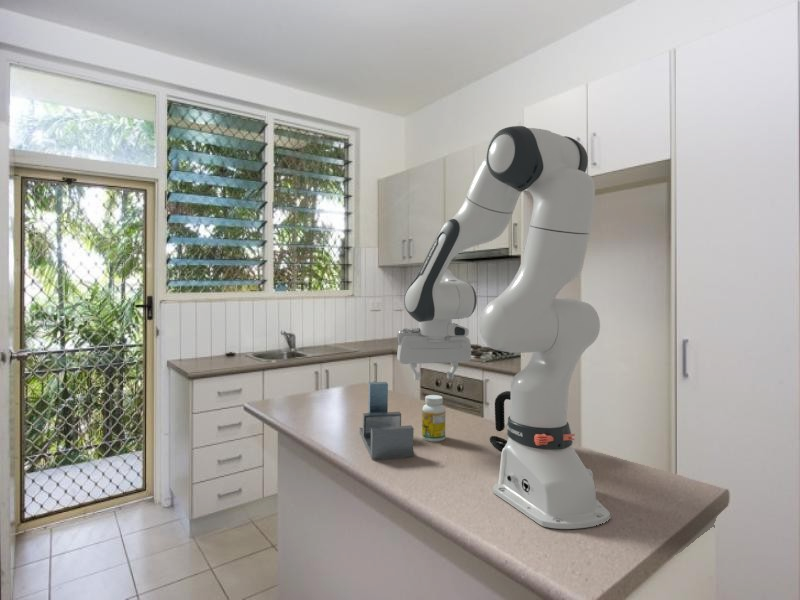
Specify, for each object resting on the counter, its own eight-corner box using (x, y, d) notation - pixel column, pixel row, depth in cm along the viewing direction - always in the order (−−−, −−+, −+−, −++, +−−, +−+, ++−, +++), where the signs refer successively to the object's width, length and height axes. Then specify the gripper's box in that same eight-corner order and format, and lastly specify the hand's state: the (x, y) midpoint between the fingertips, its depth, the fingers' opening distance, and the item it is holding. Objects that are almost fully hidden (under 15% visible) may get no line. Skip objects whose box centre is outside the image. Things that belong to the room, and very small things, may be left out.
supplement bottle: (448, 441, 120) (449, 399, 119) (426, 443, 118) (427, 400, 117) (439, 433, 126) (440, 393, 125) (418, 435, 124) (419, 394, 124)
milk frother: (546, 442, 120) (548, 387, 120) (549, 464, 105) (551, 401, 104) (492, 436, 124) (493, 383, 123) (487, 457, 109) (488, 396, 108)
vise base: (413, 456, 108) (413, 428, 108) (372, 459, 106) (372, 430, 105) (394, 431, 127) (394, 406, 127) (359, 433, 125) (359, 408, 125)
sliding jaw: (401, 434, 120) (402, 388, 119) (364, 436, 117) (364, 389, 117) (394, 424, 128) (394, 381, 128) (359, 426, 126) (359, 382, 125)
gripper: (400, 329, 116) (399, 383, 116) (474, 329, 120) (472, 380, 121) (394, 327, 122) (393, 377, 122) (465, 327, 126) (464, 375, 127)
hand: (433, 379), depth 122 cm, fingers open, 8 cm apart
